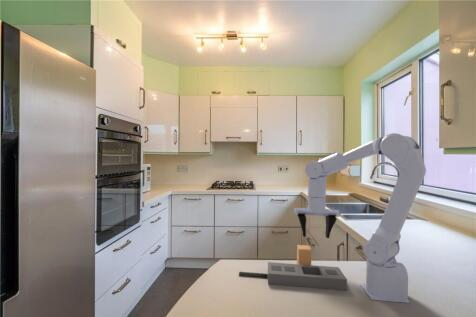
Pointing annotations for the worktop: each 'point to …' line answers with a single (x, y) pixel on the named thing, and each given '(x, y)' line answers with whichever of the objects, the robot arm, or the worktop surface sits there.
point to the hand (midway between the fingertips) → (315, 236)
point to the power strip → (303, 276)
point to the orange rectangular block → (303, 255)
